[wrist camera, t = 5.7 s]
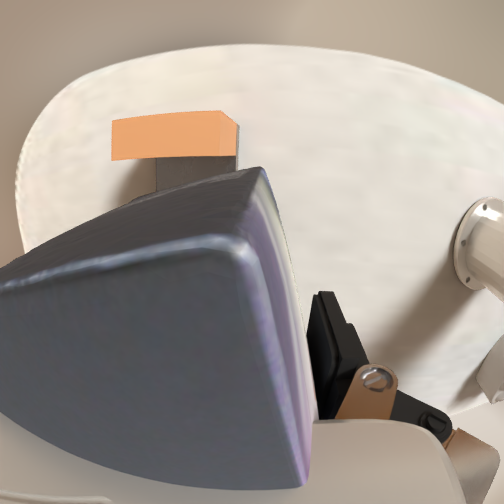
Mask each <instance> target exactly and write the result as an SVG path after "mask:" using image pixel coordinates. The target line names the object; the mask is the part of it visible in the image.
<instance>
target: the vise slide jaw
mask: <svg viewBox="0 0 504 504" xmlns="http://www.w3.org/2000/svg"><path fill="white" fill-rule="evenodd" d="M236 135H237V123H235V122H234V121H233V120H232V119H230V118H229V117H228V116H227V115H226V114H224V113H223V112H222V111H195V112H179V113H167V114H157V115H148V116H139V117H132V118H125V119H119V120H113V121H112V161H115V160H126V159H139V158H156V157H181V156H235V155H236Z"/></svg>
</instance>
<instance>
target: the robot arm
mask: <svg viewBox="0 0 504 504" xmlns="http://www.w3.org/2000/svg"><path fill="white" fill-rule="evenodd" d="M454 267H455V271H456V274H457V276H458V278H459V279H460V281H461V282H462V283H463V284H464V285H465V286H467V287H468V288H470V289H473V290H480V289H484V288H487V289H488V290H490V291H491V292H492V293H493V294H494V295H495V296H497V297H498V298H499V299H500V300H501V301H502V302H503V303H504V201H502V200H500V199H497V198H494V197H486V198H483V199H481V200H479V201H478V202H476V203H475V204H474V205H473V206H472V207H471V208H470V209H469V211H468V212H467V214H466V215H465V217H464V219H463V220H462V222H461V224H460V227H459V230H458V232H457V236H456V240H455V245H454ZM306 338H307V343H308V349H309V355H310V361H311V367H312V375H313V381H314V388H315V394H316V401H317V408H318V416H319V420H314V421H313V423H312V440H311V457H310V469H309V477H308V480H307V483H306V484H304V485H303V486H301V487H298V488H292V489H279V490H221V489H207V488H197V487H189V486H181V485H175V484H169V483H164V482H159V481H154V480H150V479H145V478H141V477H137V476H133V475H130V474H126V473H122V472H119V471H116V470H113V469H109V468H106V467H103V466H101V465H98V464H95V463H92V462H90V461H87V460H85V459H82V458H80V457H77V456H75V455H73V454H70V453H68V452H66V451H64V450H62V449H60V448H58V447H56V446H54V445H52V444H50V443H48V442H46V441H45V440H43V439H41V438H39V437H37V436H36V435H34V434H32V433H31V432H29V431H27V430H26V429H24V428H22V427H21V426H19V425H18V424H16V423H15V422H13V421H12V420H10V419H9V418H8V417H6V416H5V415H4V414H2V413H1V412H0V504H482V503H483V501H484V499H485V496H486V495H487V493H488V490H489V488H490V486H491V484H492V482H493V479H494V477H495V475H496V472H497V470H498V467H499V463H500V456H499V453H498V452H497V450H496V449H495V448H493V447H492V446H490V445H488V444H486V443H485V442H483V441H481V440H479V439H477V438H476V437H474V436H472V435H470V434H468V433H467V432H465V431H463V430H461V429H460V428H458V429H457V430H454V429H452V422H451V420H450V418H449V417H448V416H447V415H446V414H445V413H444V412H442V411H440V410H438V409H436V408H434V407H432V406H430V405H428V404H425V403H423V402H421V401H419V400H417V399H415V398H413V397H411V396H409V395H407V394H405V393H403V392H401V391H399V390H397V387H398V379H397V377H396V375H395V374H394V372H393V371H392V370H390V369H389V368H387V367H385V366H382V365H378V364H369V361H368V359H367V356H366V354H365V351H364V349H363V347H362V344H361V342H360V339H359V337H358V335H357V332H356V330H355V328H354V326H353V324H351V323H346V321H345V318H344V316H343V313H342V311H341V309H340V306H339V304H338V301H337V299H336V297H335V294H334V292H330V291H319V292H318V295H313V300H312V306H311V312H310V317H309V323H308V329H307V334H306Z"/></svg>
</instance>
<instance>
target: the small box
mask: <svg viewBox="0 0 504 504" xmlns="http://www.w3.org/2000/svg"><path fill="white" fill-rule="evenodd" d="M0 412H1V413H2V414H4V415H5V416H6V417H8V418H9V419H10V420H12V421H13V422H15V423H16V424H18V425H19V426H21V427H22V428H24V429H26V430H27V431H29V432H31V433H32V434H34V435H36V436H37V437H39V438H41V439H43V440H45V441H46V442H48V443H50V444H52V445H54V446H56V447H58V448H60V449H62V450H64V451H66V452H68V453H70V454H73V455H75V456H77V457H80V458H82V459H85V460H87V461H90V462H92V463H95V464H98V465H101V466H103V467H106V468H109V469H113V470H116V471H119V472H122V473H126V474H130V475H133V476H137V477H141V478H145V479H150V480H154V481H159V482H164V483H169V484H175V485H181V486H189V487H197V488H207V489H221V490H279V489H292V488H298V487H301V486H303V485H304V484H306V483H307V480H308V477H309V469H310V457H311V440H312V423H313V421H314V420H319V416H318V408H317V401H316V394H315V388H314V381H313V375H312V367H311V361H310V355H309V349H308V343H307V338H306V332H305V326H304V321H303V315H302V310H301V305H300V300H299V295H298V291H297V286H296V281H295V277H294V272H293V268H292V264H291V259H290V255H289V251H288V247H287V242H286V238H285V234H284V230H283V226H282V223H281V219H280V215H279V212H278V208H277V204H276V201H275V198H274V195H273V192H272V189H271V186H270V183H269V180H268V177H267V175H266V172H265V170H264V168H262V167H253V168H249V169H243V170H239V171H234V172H229V173H224V174H221V175H216V176H212V177H208V178H204V179H201V180H197V181H193V182H189V183H185V184H182V185H178V186H175V187H171V188H168V189H164V190H160V191H157V192H154V193H151V194H147V195H144V196H140V197H138V198H136V199H134V200H132V201H131V202H130V203H128V204H125V205H123V206H121V207H119V208H116V209H114V210H111V211H109V212H107V213H105V214H103V215H101V216H98V217H96V218H94V219H92V220H90V221H87V222H85V223H83V224H81V225H79V226H77V227H75V228H73V229H71V230H69V231H67V232H65V233H63V234H61V235H59V236H57V237H55V238H52V239H51V240H49V241H47V242H45V243H43V244H41V245H40V246H38V247H36V248H34V249H32V250H31V251H30V252H28V253H26V254H25V255H23V256H20V257H18V258H16V259H15V260H13V261H12V262H10V263H9V264H7V265H6V266H4V267H2V268H0Z"/></svg>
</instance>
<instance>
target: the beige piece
mask: <svg viewBox="0 0 504 504" xmlns="http://www.w3.org/2000/svg"><path fill="white" fill-rule="evenodd" d="M476 381H477V382H478V384H479V385H480V387H481V388H482V390H483V392H484V393H485V395H486V396H487V398H488V400H489V401H490V403H491V404H494V403H496V402H498V401H503V400H504V334H503V335H502V336H501V338H500V339H499V340H498V341H497V342H496V344H495V345H494V346H493V347H492V349H491V350H490V352H489V353H488V355H487V357H486V358H485V360H484V362H483V364H482V366H481V368H480V370H479V372H478V374H477V376H476Z"/></svg>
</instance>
